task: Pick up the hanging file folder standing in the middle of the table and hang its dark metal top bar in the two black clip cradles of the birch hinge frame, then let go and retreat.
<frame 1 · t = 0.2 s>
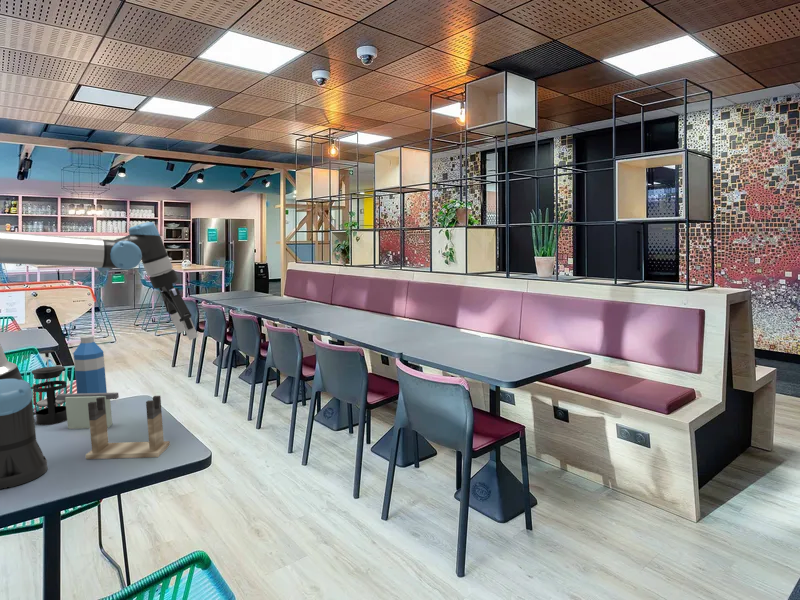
hand: (187, 334, 168), 28 cm above the table, tool tilted 20°, fingers open, 13 cm apart
water bottle: (93, 407, 185), on the table
french press: (51, 421, 172), on the table
hinge frame: (129, 452, 145), on the table
hanging file folder: (90, 426, 165), on the table
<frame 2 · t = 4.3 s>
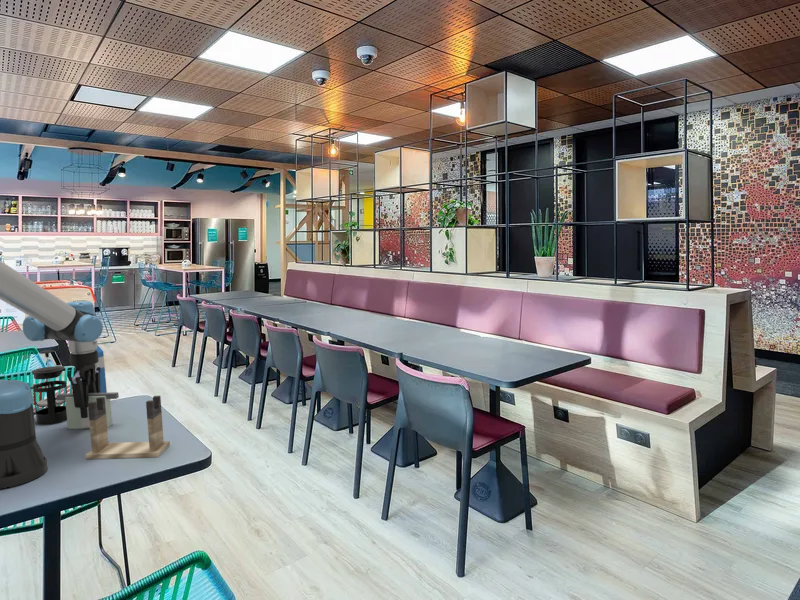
hand: (90, 424, 165), 1 cm above the table, tool pointing down, fingers closed on hanging file folder, 3 cm apart
hanging file folder: (90, 426, 165), on the table, touching gripper
everything else where it was.
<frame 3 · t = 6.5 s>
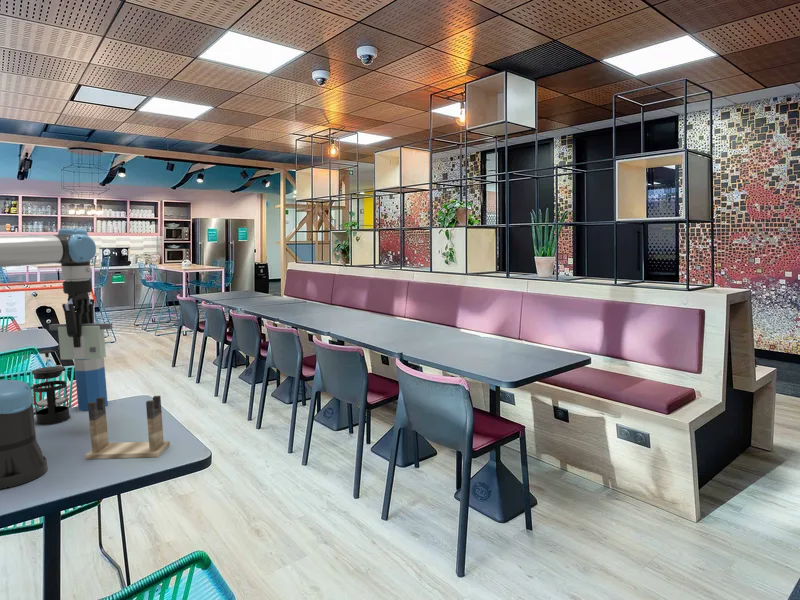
hand: (83, 356, 162), 23 cm above the table, tool pointing down, fingers closed on hanging file folder, 3 cm apart
hanging file folder: (83, 358, 162), point 22 cm above the table, touching gripper
everything else where it was.
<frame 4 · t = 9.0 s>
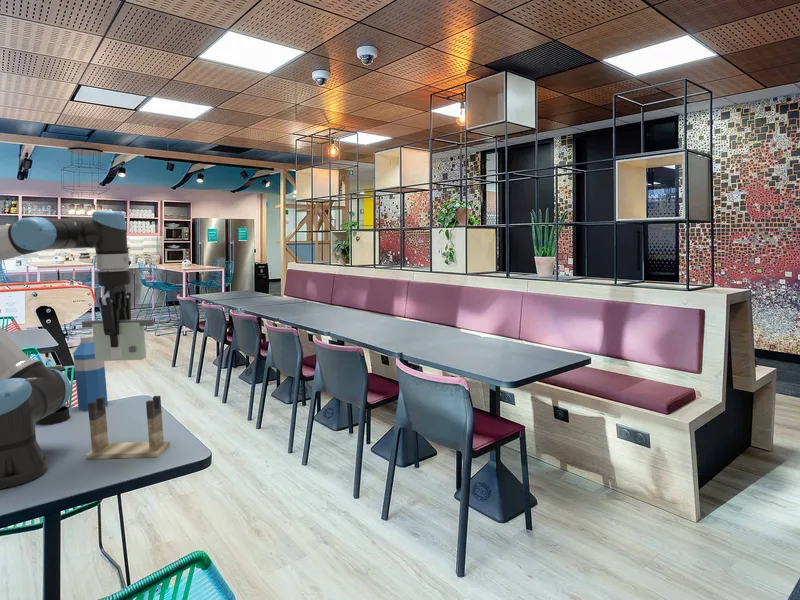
hand: (120, 356, 143), 27 cm above the table, tool pointing down, fingers closed on hanging file folder, 3 cm apart
hanging file folder: (121, 359, 143), point 26 cm above the table, touching gripper
everything else where it was.
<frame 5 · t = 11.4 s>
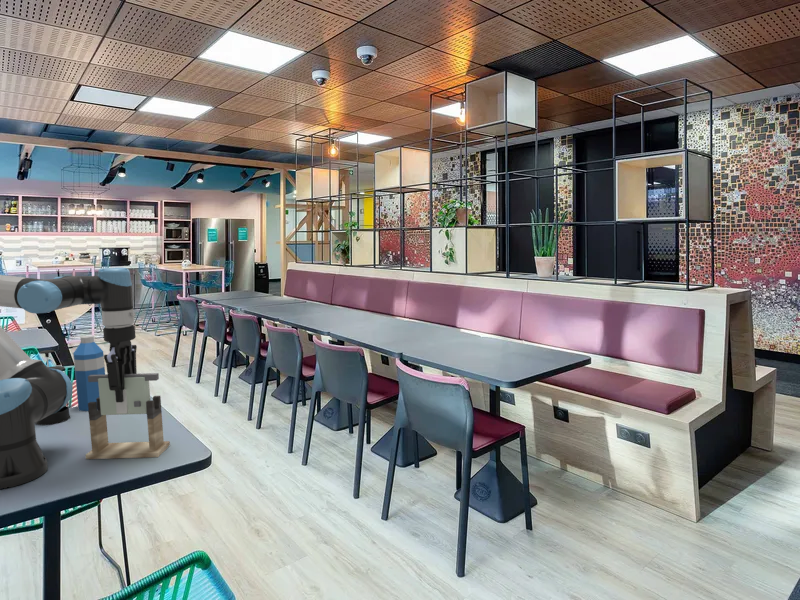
hand: (125, 410, 144), 12 cm above the table, tool pointing down, fingers closed on hanging file folder, 3 cm apart
hanging file folder: (126, 412, 144), point 11 cm above the table, touching gripper
everything else where it was.
when the fingers open (5 cm above the table, at t = 13.6 s): hanging file folder drops 1 cm, resting on hinge frame.
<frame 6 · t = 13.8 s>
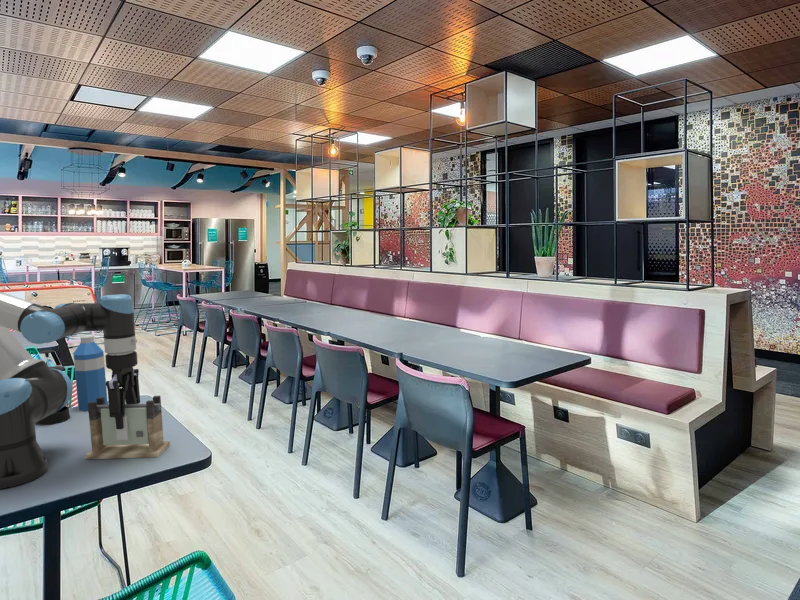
hand: (127, 435, 145), 5 cm above the table, tool pointing down, fingers open, 5 cm apart
hanging file folder: (128, 442, 145), point 3 cm above the table, touching hinge frame
everything else where it was.
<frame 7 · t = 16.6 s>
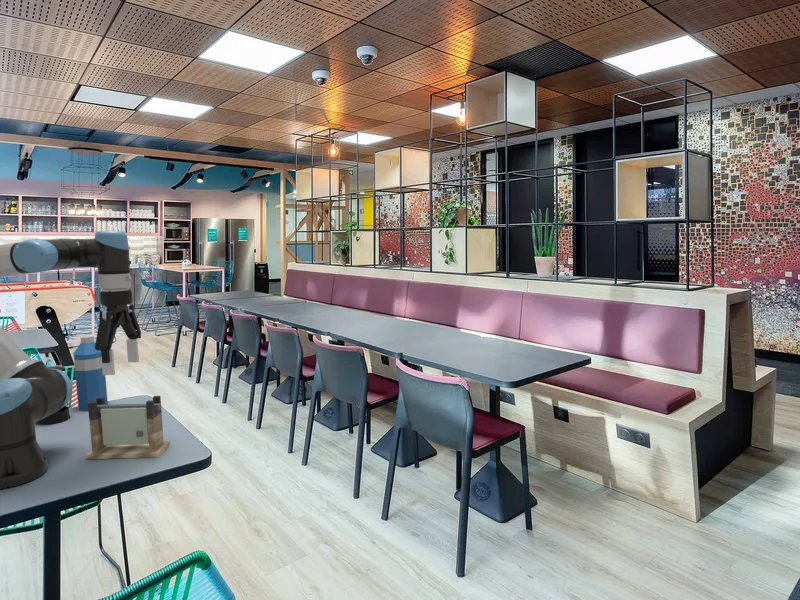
hand: (121, 368, 142), 24 cm above the table, tool pointing down, fingers open, 13 cm apart
nothing on the table moved.
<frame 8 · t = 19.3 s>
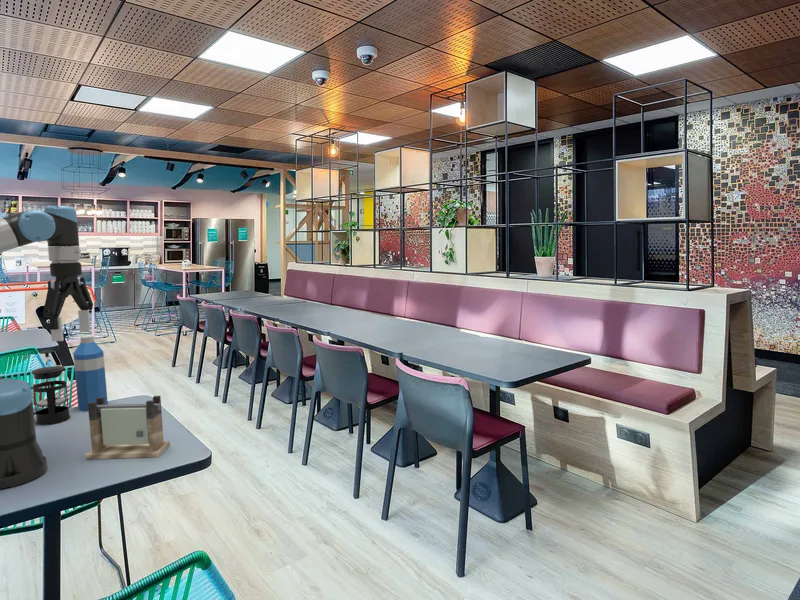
hand: (72, 336, 151), 31 cm above the table, tool pointing down, fingers open, 13 cm apart
nothing on the table moved.
at the end: hanging file folder 0.1 cm off-centre on the hinge frame, point 2.7 cm above the hinge frame's base; the gripper is holding nothing; hanging file folder touching hinge frame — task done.
